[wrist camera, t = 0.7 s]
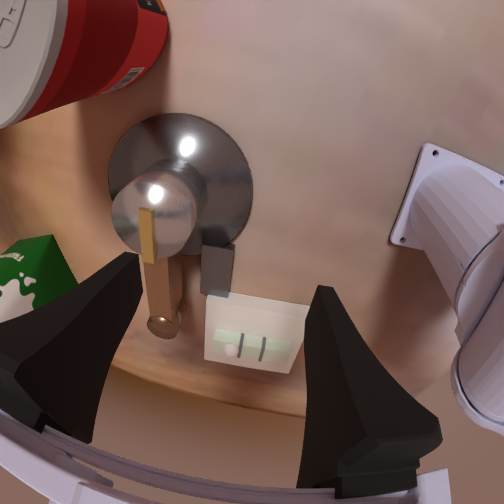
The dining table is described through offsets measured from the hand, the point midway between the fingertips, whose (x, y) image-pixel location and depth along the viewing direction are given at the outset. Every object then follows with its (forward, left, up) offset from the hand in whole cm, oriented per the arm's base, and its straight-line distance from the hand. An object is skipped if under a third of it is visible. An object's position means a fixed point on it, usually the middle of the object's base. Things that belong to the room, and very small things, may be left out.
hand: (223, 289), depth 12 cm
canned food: (+10, -10, -11) cm, 18 cm away
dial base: (+5, +3, -10) cm, 12 cm away
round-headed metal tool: (+5, +5, -10) cm, 12 cm away
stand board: (-2, +14, -10) cm, 18 cm away
